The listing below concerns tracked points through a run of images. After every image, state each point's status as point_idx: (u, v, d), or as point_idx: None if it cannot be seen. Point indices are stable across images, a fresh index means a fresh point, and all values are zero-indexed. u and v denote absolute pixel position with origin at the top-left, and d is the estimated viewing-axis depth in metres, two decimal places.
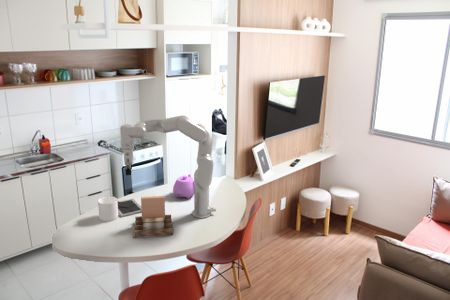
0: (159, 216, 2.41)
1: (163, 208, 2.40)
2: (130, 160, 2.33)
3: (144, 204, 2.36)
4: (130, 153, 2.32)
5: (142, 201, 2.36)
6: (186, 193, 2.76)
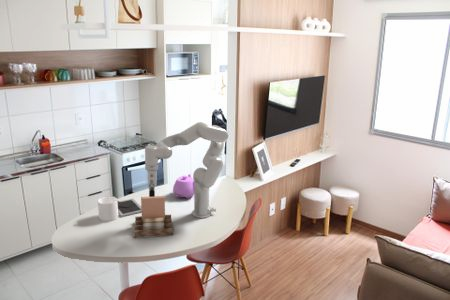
0: (159, 216, 2.41)
1: (163, 208, 2.40)
2: (154, 182, 2.29)
3: (144, 204, 2.36)
4: (154, 175, 2.28)
5: (142, 201, 2.36)
6: (186, 193, 2.76)
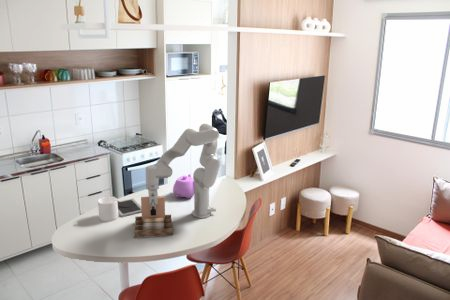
0: (159, 216, 2.41)
1: (163, 208, 2.40)
2: (155, 201, 2.33)
3: (144, 204, 2.36)
4: (155, 194, 2.32)
5: (142, 201, 2.36)
6: (186, 193, 2.76)
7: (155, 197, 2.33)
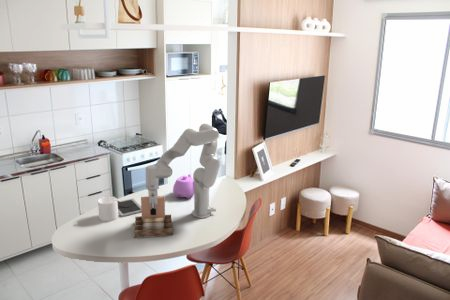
0: (159, 216, 2.41)
1: (163, 208, 2.40)
2: (155, 201, 2.33)
3: (144, 204, 2.36)
4: (155, 194, 2.32)
5: (142, 201, 2.36)
6: (186, 193, 2.76)
7: (155, 197, 2.32)
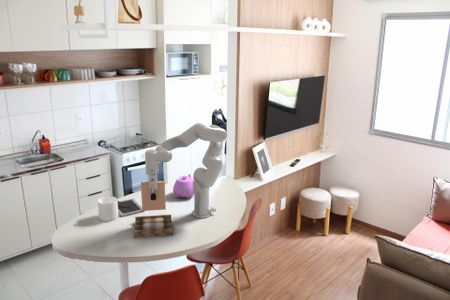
0: (159, 201, 2.38)
1: (164, 193, 2.37)
2: (155, 186, 2.30)
3: (144, 189, 2.34)
4: (155, 179, 2.29)
5: (142, 186, 2.33)
6: (186, 193, 2.76)
7: (155, 182, 2.30)
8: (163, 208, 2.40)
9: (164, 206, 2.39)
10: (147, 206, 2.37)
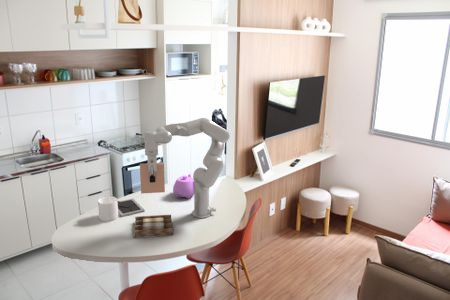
0: (158, 183, 2.34)
1: (163, 175, 2.33)
2: (154, 167, 2.27)
3: (143, 170, 2.30)
4: (154, 160, 2.26)
5: (141, 168, 2.29)
6: (186, 193, 2.76)
7: (154, 163, 2.26)
8: (162, 191, 2.36)
9: (163, 188, 2.36)
10: (146, 188, 2.34)
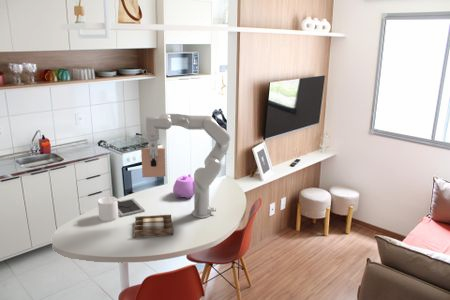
0: (159, 168, 2.41)
1: (164, 159, 2.40)
2: (155, 151, 2.34)
3: (144, 155, 2.37)
4: (155, 144, 2.33)
5: (142, 152, 2.36)
6: (186, 193, 2.76)
7: (155, 147, 2.33)
8: (163, 175, 2.43)
9: (164, 172, 2.43)
10: (147, 172, 2.41)
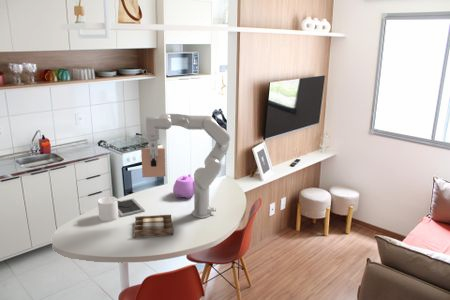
0: (159, 168, 2.41)
1: (164, 159, 2.40)
2: (155, 151, 2.34)
3: (144, 155, 2.37)
4: (155, 144, 2.33)
5: (142, 152, 2.36)
6: (186, 193, 2.76)
7: (155, 147, 2.33)
8: (163, 175, 2.43)
9: (164, 172, 2.43)
10: (147, 172, 2.41)
